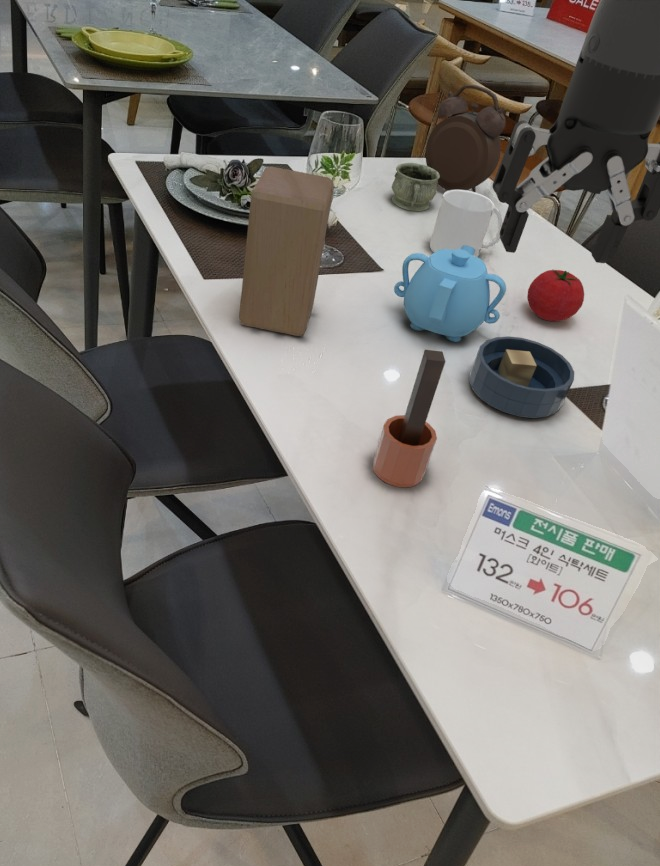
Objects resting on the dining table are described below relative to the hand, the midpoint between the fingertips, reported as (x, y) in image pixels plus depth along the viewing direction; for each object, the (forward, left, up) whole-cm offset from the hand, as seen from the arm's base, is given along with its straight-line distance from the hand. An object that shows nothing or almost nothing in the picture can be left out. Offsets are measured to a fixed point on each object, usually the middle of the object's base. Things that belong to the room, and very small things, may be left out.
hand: (552, 254), depth 70 cm
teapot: (-4, -40, -30) cm, 50 cm away
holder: (+7, -3, -30) cm, 31 cm away
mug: (-12, -66, -30) cm, 74 cm away
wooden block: (+22, -36, -30) cm, 52 cm away
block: (-12, -25, -30) cm, 41 cm away
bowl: (-12, -23, -30) cm, 39 cm away
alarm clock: (-15, -95, -30) cm, 101 cm away
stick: (+7, -3, -30) cm, 31 cm away
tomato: (-23, -46, -30) cm, 60 cm away
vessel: (-5, -86, -30) cm, 91 cm away
